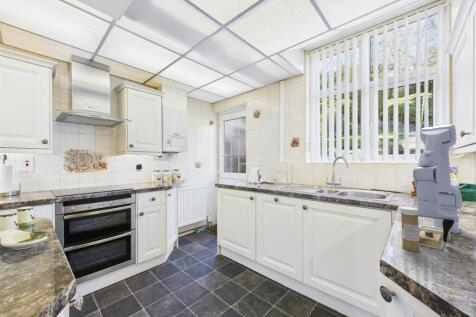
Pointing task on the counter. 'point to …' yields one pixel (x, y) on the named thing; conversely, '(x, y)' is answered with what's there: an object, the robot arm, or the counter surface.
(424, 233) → the lid
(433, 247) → the mat
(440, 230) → the butter dish
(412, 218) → the sprinkles bottle
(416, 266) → the counter surface
